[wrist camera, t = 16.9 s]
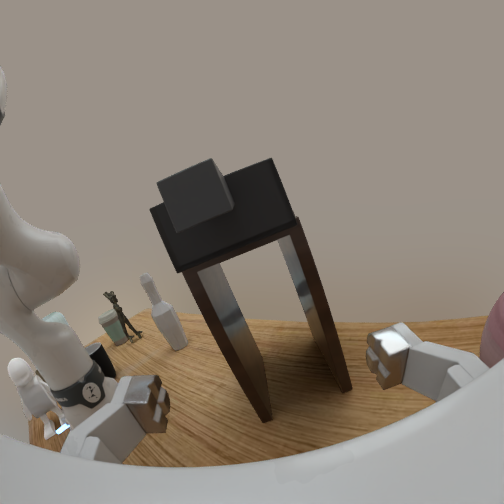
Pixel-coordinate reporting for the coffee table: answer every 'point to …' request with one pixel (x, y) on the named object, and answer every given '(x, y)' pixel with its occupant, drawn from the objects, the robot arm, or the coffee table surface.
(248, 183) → the basket
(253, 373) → the stand
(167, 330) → the faceted bottle
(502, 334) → the pink rounded ball
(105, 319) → the coffee cup
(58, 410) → the toy robot
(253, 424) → the coffee table surface
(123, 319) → the statue
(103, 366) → the mug
